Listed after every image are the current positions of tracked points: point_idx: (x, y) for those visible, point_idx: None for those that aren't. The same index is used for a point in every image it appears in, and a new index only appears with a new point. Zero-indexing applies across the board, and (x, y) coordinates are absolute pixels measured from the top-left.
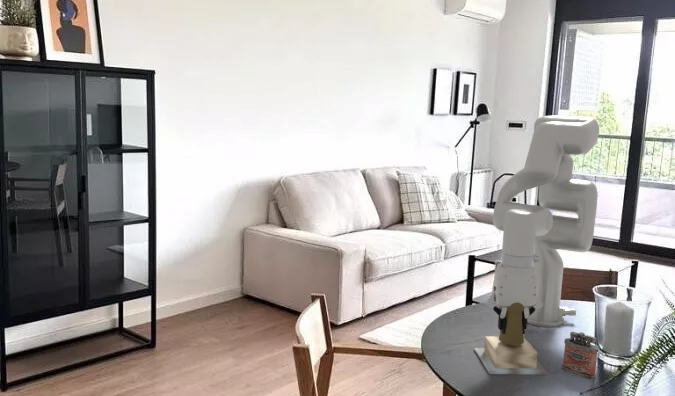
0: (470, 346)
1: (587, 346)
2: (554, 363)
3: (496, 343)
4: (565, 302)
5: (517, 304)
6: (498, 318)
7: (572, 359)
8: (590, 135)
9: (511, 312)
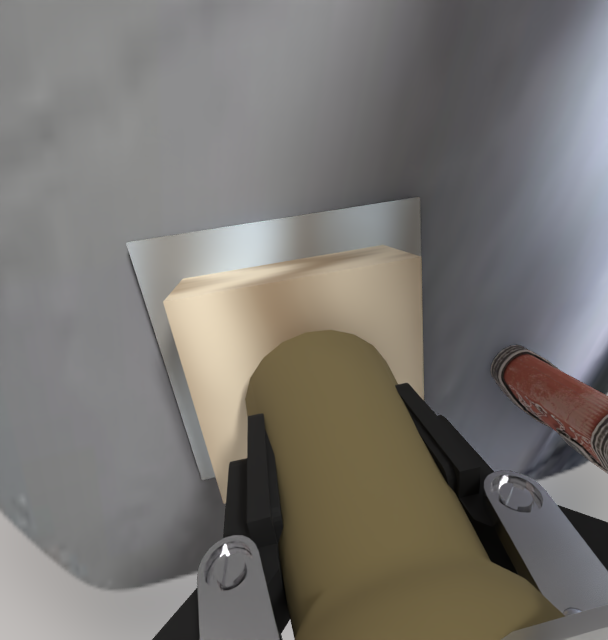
0: (103, 187)
1: None
2: (484, 319)
3: (232, 399)
4: None
5: None
6: (224, 523)
7: (552, 425)
8: None
9: None
